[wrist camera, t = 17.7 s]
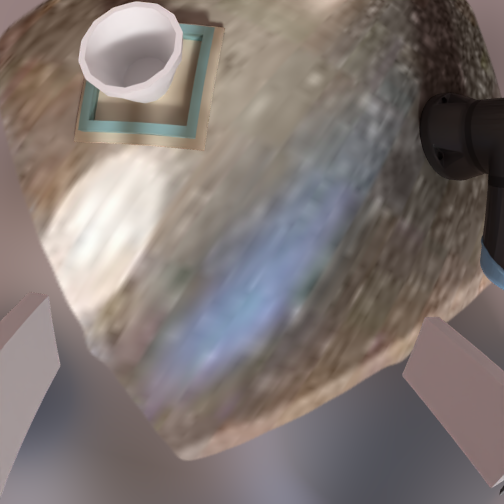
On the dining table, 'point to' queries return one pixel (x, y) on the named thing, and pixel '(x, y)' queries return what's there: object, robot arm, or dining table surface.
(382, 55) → the dining table surface
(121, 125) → the plate
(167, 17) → the foam cup
